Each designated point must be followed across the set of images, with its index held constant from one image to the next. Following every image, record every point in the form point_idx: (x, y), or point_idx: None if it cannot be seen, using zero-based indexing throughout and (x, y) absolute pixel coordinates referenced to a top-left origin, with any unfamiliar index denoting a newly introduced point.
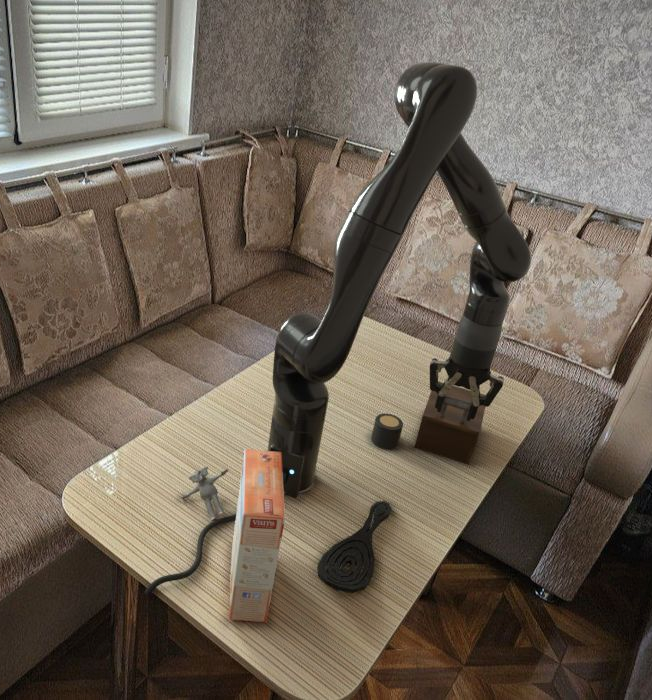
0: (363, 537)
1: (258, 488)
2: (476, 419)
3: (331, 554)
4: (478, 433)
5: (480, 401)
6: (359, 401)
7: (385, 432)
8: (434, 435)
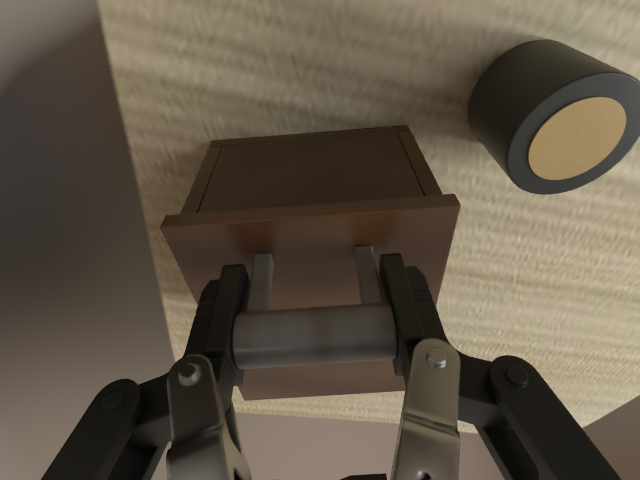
0: None
1: None
2: None
3: None
4: (167, 221)
5: (168, 401)
6: (585, 245)
7: (589, 65)
8: (359, 169)
